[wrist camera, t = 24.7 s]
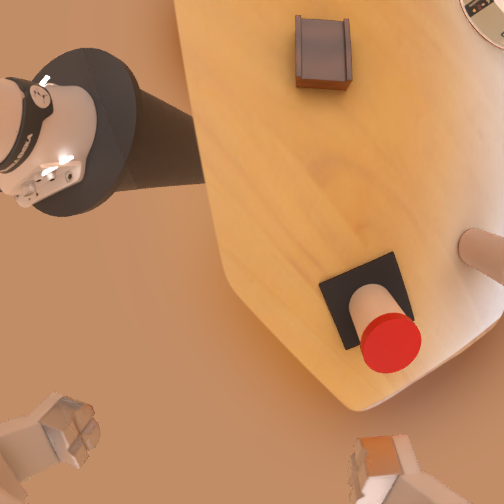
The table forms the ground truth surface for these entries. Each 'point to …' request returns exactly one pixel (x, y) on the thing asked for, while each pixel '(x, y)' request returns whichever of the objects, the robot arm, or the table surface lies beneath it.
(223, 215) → the table surface
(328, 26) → the cradle
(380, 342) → the container
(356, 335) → the mat
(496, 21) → the food container
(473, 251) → the beverage can
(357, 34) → the table surface
